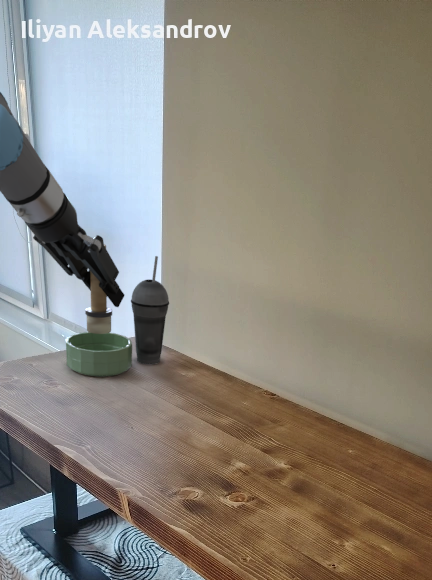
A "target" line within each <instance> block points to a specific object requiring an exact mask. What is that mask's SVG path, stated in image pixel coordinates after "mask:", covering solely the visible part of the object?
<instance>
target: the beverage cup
mask: <svg viewBox="0 0 432 580" xmlns="http://www.w3.org/2000/svg"><path fill="white" fill-rule="evenodd" d="M158 259H159V256H158V255H155V256H154V263H153V271H152V279H144V280H142V281H139V283H137V284H136V286H135V287H134V289H133V291H132V294H131V299H130V303H131V309H132V310H131V311H132V314H133V329H134V341H135V353H136V361H137V362H138V363H139V364H142V365H157V364H159V363H160V362H161V357H162V356H161V355H162V350H163V342H164V335H165V326H166V317H167V313H168V309H169V305H170V300H169V294H168V291H167V290H166V288H165V287H164V285H163V284H162V283H161V282H159V281H157V280H156V277H157V268H158Z"/></svg>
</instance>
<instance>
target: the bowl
mask: <svg viewBox="0 0 432 580" xmlns="http://www.w3.org/2000/svg"><path fill="white" fill-rule="evenodd" d="M65 351H66V352H65V355H66V366H67V368H69V369H70V370H71V371H74V372H75V373H78V374H81V375H85V376H89V377H112V376H113V377H114V376H118V375H120V374H123V373H125V372H126V371H128V370H130V369H131V368H132V367H133V342H132V339H131V338H129V337H127V336H126V335H122V334H119V333H115V332H109V333H106V334H94V333H90V332H88V331H84V332H78V333H73V334H71V335H69V336H68V337H66V338H65Z"/></svg>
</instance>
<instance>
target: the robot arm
mask: <svg viewBox="0 0 432 580" xmlns="http://www.w3.org/2000/svg"><path fill="white" fill-rule="evenodd" d="M14 116H15V115H13V112H12V110H11V108H10V106H9V103H8V101H7V99H6V97H5V95H4V94H3V93H2V92H1V91H0V194H2V195H3V198H4V199H6V201H7V202H8V203H9V204H10V205H11V207H12V208H13V209H14V210H15V212H16V215H17V216H18V217H19V218H21V219H22V220H23V221H24V223H25V225H26V226H27V227H28V229H29V230H30V231H31V232H32V234H33V236H32V238H33V240H34V241H35V242H36V243H38V244H39V245H40V246H41V247H42V248H43V249H44V250H45V251H46V252H47V253H48V254H49V256H50V257H52V259H53V260H54V261H55V263H57V265H59V267H60V268H62V270H63V271H64V272H65V273H66V274H67V275H68V276H71V277H72V276H73V275H75V277H76V278H77V279H78V280H80V281H81V282H82V283H83V284H85V286H86V288H87V289H88V290H89V291H90V292H91V286H90V271H91V272H92V273H93V274H94V276H95V277H96V278H97V279H98V280H99V281H100V283H99V287H100V288H101V289H102V290H103V291H104V292H105V294H106V295H107V298H108V299H109V301H110V302H111V304H113V306H114V307H115V308H119V307H120V305H121V303H122V301H123V299H124V298H125V294H124V292H123V291H122V289H121V288H120V285H119V284H118V282H117V281H116V279H117V278H118V276H119V274H120V271H119V269H118V268H117V265H116V264H115V262H114V260H113V258H112V257H111V255H110V253H109V251H108V249H107V247H106V248H105V246H104V244H105V243H104V238H103V237H102V236H101V235H98V234H96V236H95V237H94V238H93V237H92V236H89V235H88V234H87V232H86V230H85V229H84V228H83V227H82V226H80V224H79V222H78V213H77V209H76V207H75V206H74V205H73V203H72V202H71V200H70V199H69V197H68V196H67V194H66V193H65V192H64V190H63V188H62V187H61V186H60V185H61V184H59V182H58V181H57V180H56V178H55V177H54V176H53V173H52V172H51V170H50V169H49V168H48V167H47V166H46V165H45V163H44V162H43V160H42V159H41V157H40V156H39V154H38V153H37V151H36V149H35V148H34V147H33V145H32V143H31V141H30V140H29V138H28V137H27V135H26V134H25V132H24V129H22V127H21V124H20V123H19V122H18V120H17V119H16V118H15V117H14Z"/></svg>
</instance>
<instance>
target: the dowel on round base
mask: <svg viewBox="0 0 432 580" xmlns="http://www.w3.org/2000/svg"><path fill="white" fill-rule="evenodd" d="M104 246H105V248H106V249H107V245H106V244H105V243H104ZM99 283H100V281H99V280H98V279H97V278H96V277H95V276H94V274H93V273H92V272H91V271H90V286H91V291H90V306H89V307H86V308H85V310H84V311H85V313H84V314H85V315H86V332H90V333H94V334H106V333H112V316H113V309H112V308H110V307H108V301H107V298H108V297H107V295H106V294H105V292H104V291H103V290H102V289H101V288H100V287H99Z"/></svg>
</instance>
